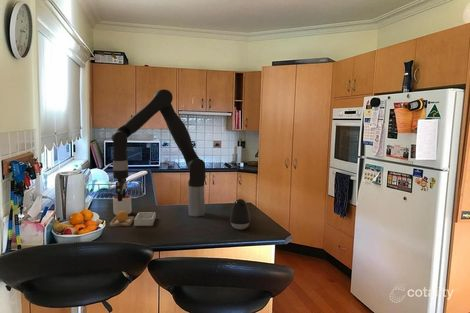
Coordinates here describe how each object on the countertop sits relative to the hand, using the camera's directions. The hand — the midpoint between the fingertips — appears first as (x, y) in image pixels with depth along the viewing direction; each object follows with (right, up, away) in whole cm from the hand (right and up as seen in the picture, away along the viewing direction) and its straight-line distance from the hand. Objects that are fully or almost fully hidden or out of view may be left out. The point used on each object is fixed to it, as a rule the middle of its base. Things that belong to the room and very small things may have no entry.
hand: (121, 199), depth 175 cm
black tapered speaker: (+63, -14, -6) cm, 64 cm away
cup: (-6, -11, +19) cm, 23 cm away
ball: (0, -9, +1) cm, 9 cm away
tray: (0, -13, +1) cm, 13 cm away
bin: (+12, -13, +3) cm, 17 cm away
